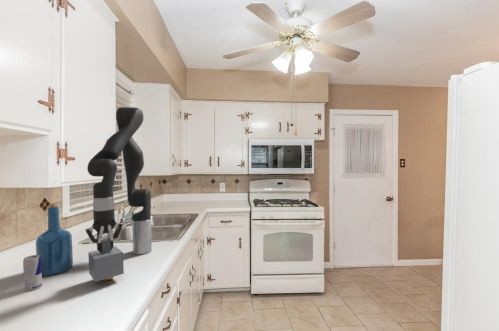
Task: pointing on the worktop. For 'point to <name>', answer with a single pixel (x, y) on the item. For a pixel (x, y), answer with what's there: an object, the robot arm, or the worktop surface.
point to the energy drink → (32, 272)
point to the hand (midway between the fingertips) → (105, 250)
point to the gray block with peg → (105, 262)
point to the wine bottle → (54, 245)
